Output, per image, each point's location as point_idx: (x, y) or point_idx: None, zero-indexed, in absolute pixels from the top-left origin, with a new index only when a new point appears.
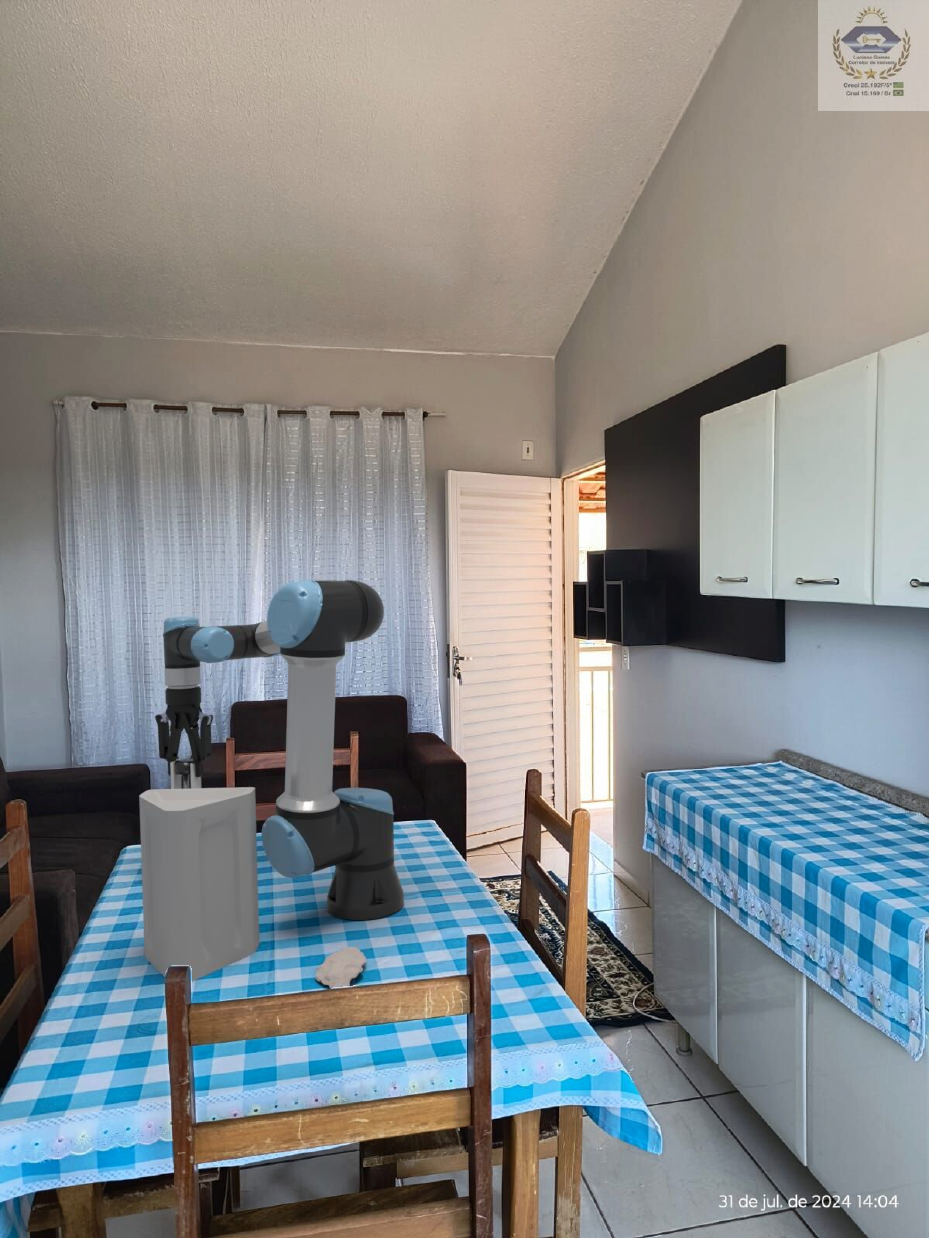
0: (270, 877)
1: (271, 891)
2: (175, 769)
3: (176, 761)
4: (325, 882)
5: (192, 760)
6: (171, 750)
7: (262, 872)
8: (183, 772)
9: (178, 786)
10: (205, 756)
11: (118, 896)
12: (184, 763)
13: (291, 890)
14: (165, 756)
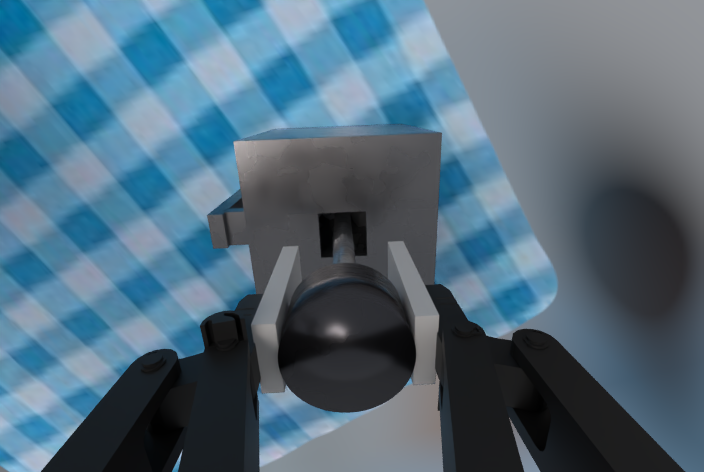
0: (155, 217)
1: (88, 143)
2: (386, 286)
3: (399, 332)
4: (22, 222)
5: (308, 380)
6: (457, 382)
7: (193, 238)
8: (319, 273)
9: (390, 278)
10: (124, 375)
11: (406, 11)
12: (308, 307)
13: (52, 161)
14: (507, 353)
